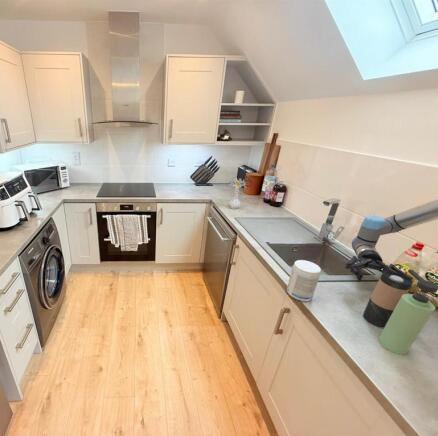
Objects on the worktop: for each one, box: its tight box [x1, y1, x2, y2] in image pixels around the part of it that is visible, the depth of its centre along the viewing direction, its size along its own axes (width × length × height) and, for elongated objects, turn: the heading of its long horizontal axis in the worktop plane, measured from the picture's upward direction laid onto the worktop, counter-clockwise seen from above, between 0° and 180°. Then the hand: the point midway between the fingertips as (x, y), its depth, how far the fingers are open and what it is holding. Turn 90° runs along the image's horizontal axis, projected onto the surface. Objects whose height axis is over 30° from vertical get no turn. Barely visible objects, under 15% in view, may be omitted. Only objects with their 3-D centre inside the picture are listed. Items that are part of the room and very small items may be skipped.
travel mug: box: [362, 271, 414, 329], centre depth 85 cm, size 8×8×20 cm
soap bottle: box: [377, 292, 436, 356], centre depth 75 cm, size 7×7×21 cm
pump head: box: [407, 268, 438, 295], centre depth 72 cm, size 10×4×3 cm, turn 161°
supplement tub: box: [286, 259, 322, 302], centre depth 99 cm, size 10×10×15 cm
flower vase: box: [228, 177, 247, 210], centre depth 194 cm, size 13×18×25 cm
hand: (383, 283), depth 89 cm, fingers open, 13 cm apart
